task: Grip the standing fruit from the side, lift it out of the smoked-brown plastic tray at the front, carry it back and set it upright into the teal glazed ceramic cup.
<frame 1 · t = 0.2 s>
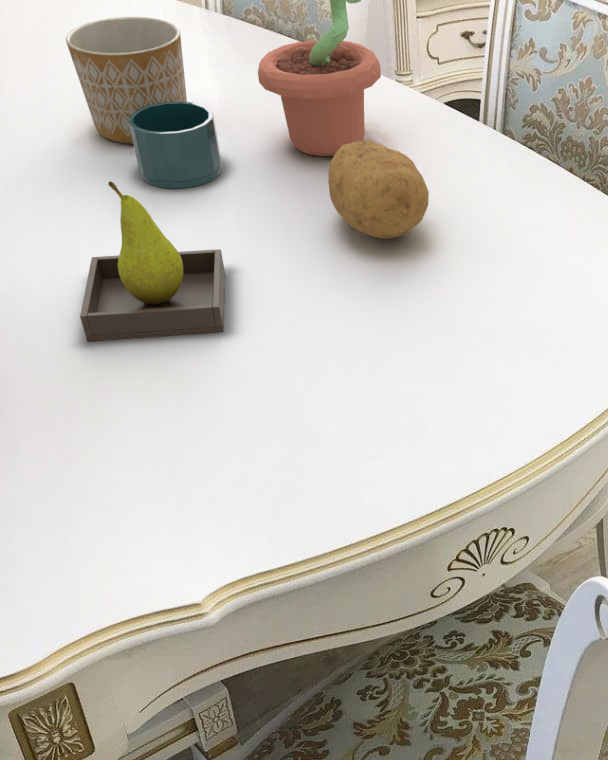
cup: (181, 171, 126), on the table
fruit: (158, 302, 105), resting on tray
decorative flower: (329, 144, 132), on the table
potato: (379, 230, 117), on the table
tray: (159, 305, 105), on the table
planter: (144, 130, 134), on the table
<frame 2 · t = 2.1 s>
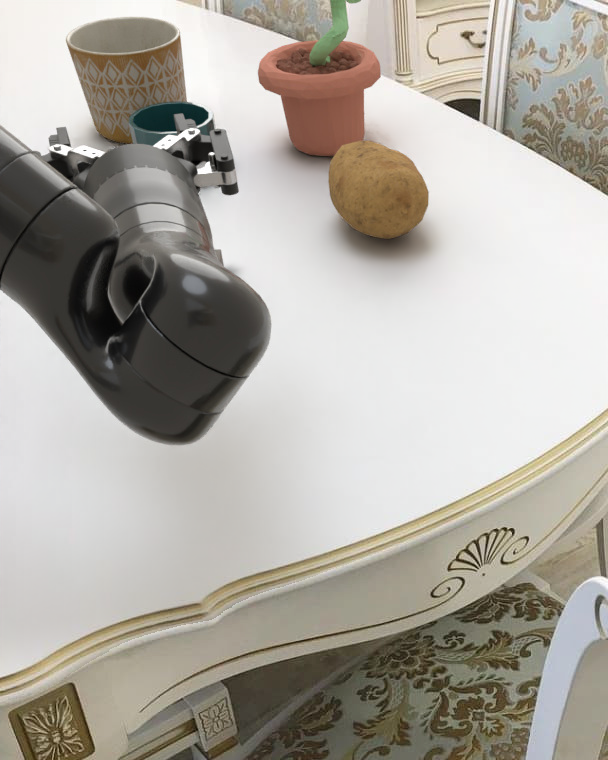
hand: (122, 133, 84), 20 cm above the table, tool horizontal, fingers open, 8 cm apart
nothing on the table moved.
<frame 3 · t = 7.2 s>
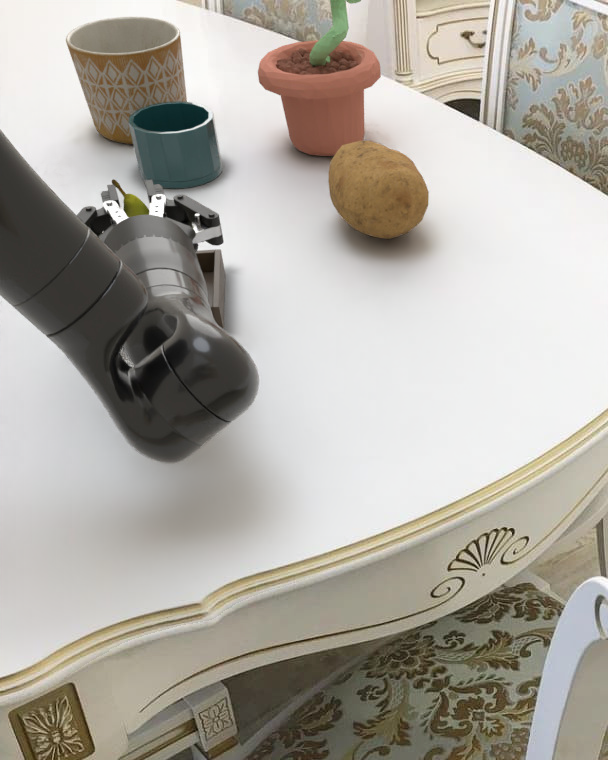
hand: (131, 192, 100), 10 cm above the table, tool horizontal, fingers closed on fruit, 2 cm apart
fruit: (158, 302, 105), resting on tray, touching gripper
everything else where it was.
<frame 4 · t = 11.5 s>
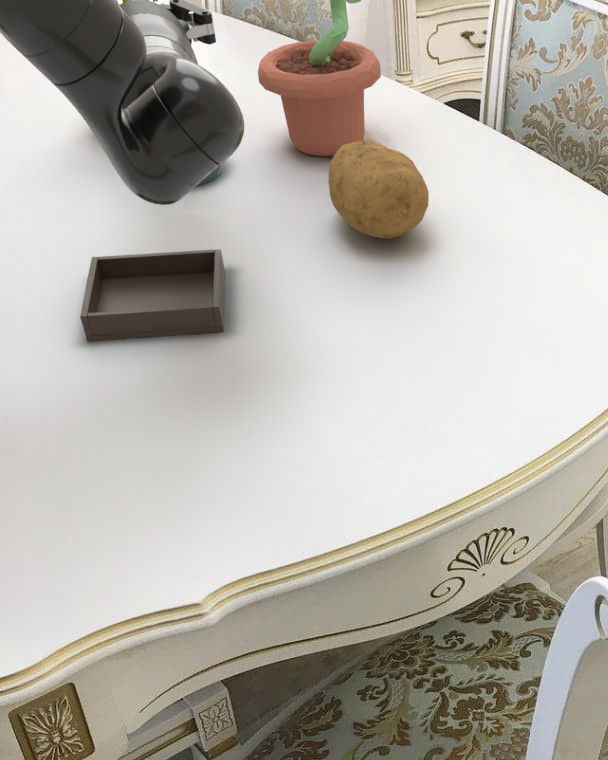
hand: (130, 2, 106), 20 cm above the table, tool horizontal, fingers closed on fruit, 2 cm apart
fruit: (155, 114, 111), point 10 cm above the table, touching gripper
everything else where it was.
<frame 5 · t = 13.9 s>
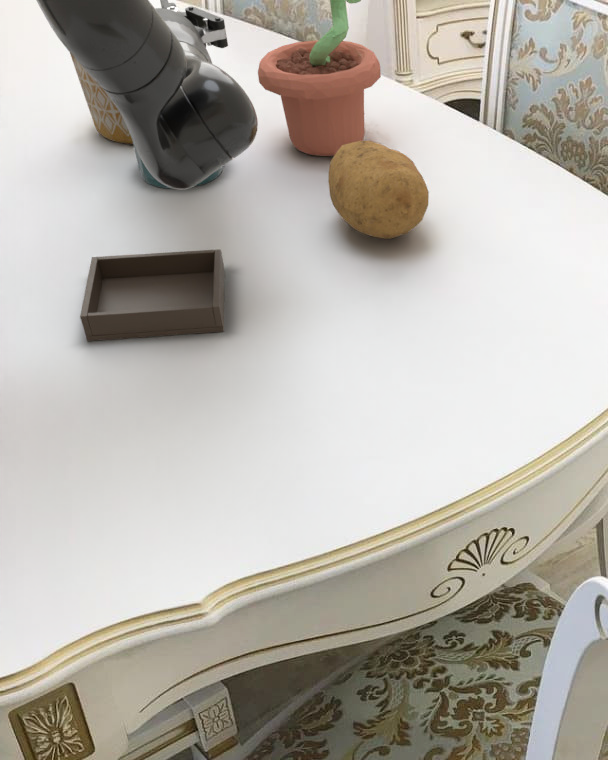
hand: (149, 10, 116), 16 cm above the table, tool horizontal, fingers closed on fruit, 2 cm apart
fruit: (172, 112, 121), point 7 cm above the table, touching gripper
everything else where it was.
when the fingers open (10 cm above the table, at t = 15.8 s): fruit stays where it is, resting on cup.
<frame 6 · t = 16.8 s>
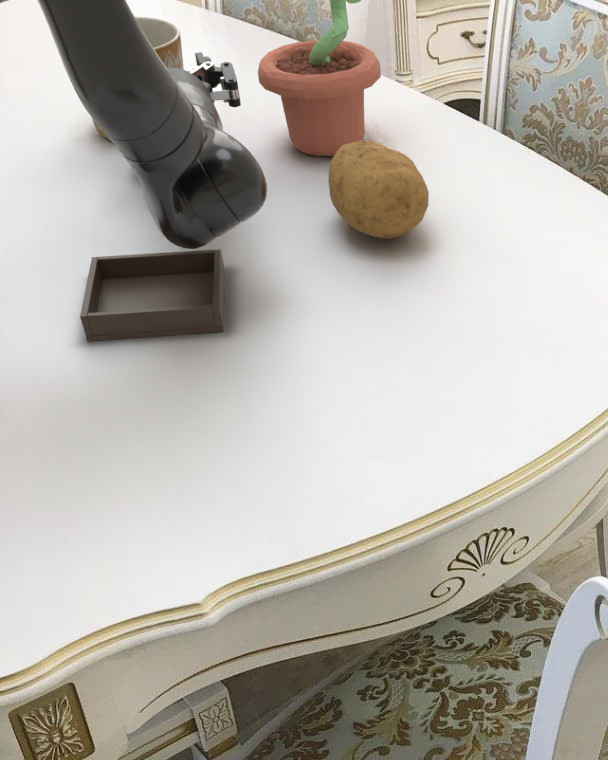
hand: (159, 66, 119), 11 cm above the table, tool horizontal, fingers open, 8 cm apart
fruit: (182, 166, 125), point 1 cm above the table, touching cup
everything else where it was.
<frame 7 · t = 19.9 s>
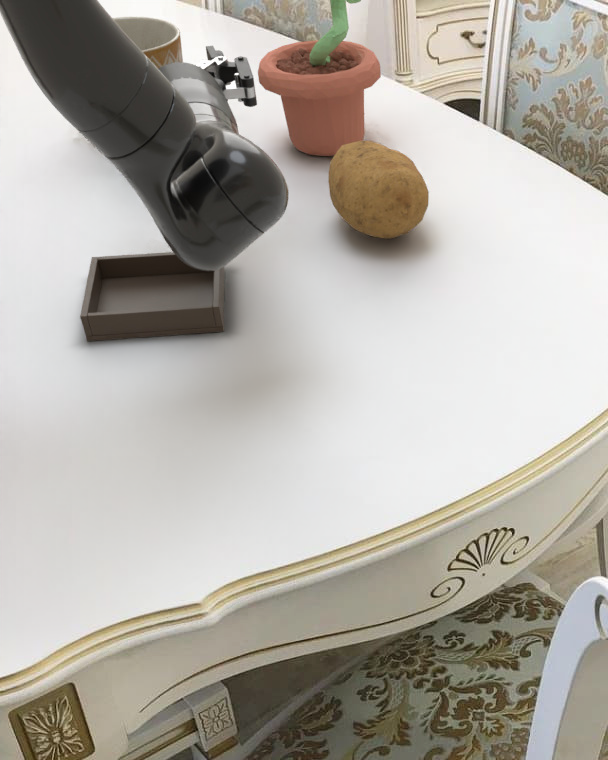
hand: (166, 60, 108), 15 cm above the table, tool horizontal, fingers open, 8 cm apart
nothing on the table moved.
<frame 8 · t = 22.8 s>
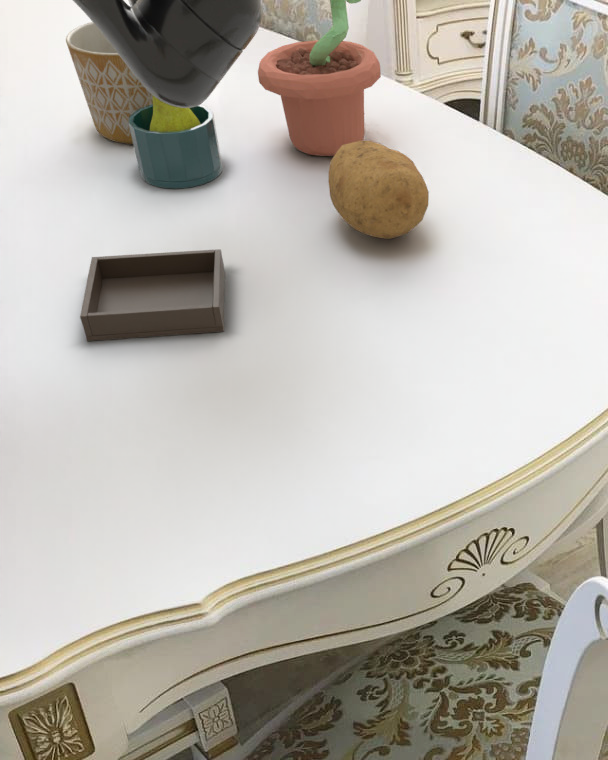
nothing on the table moved.
at the end: fruit 0.3 cm off-centre in the cup, point 0.6 cm above the cup's base; fruit tilted 0°; the gripper is holding nothing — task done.
